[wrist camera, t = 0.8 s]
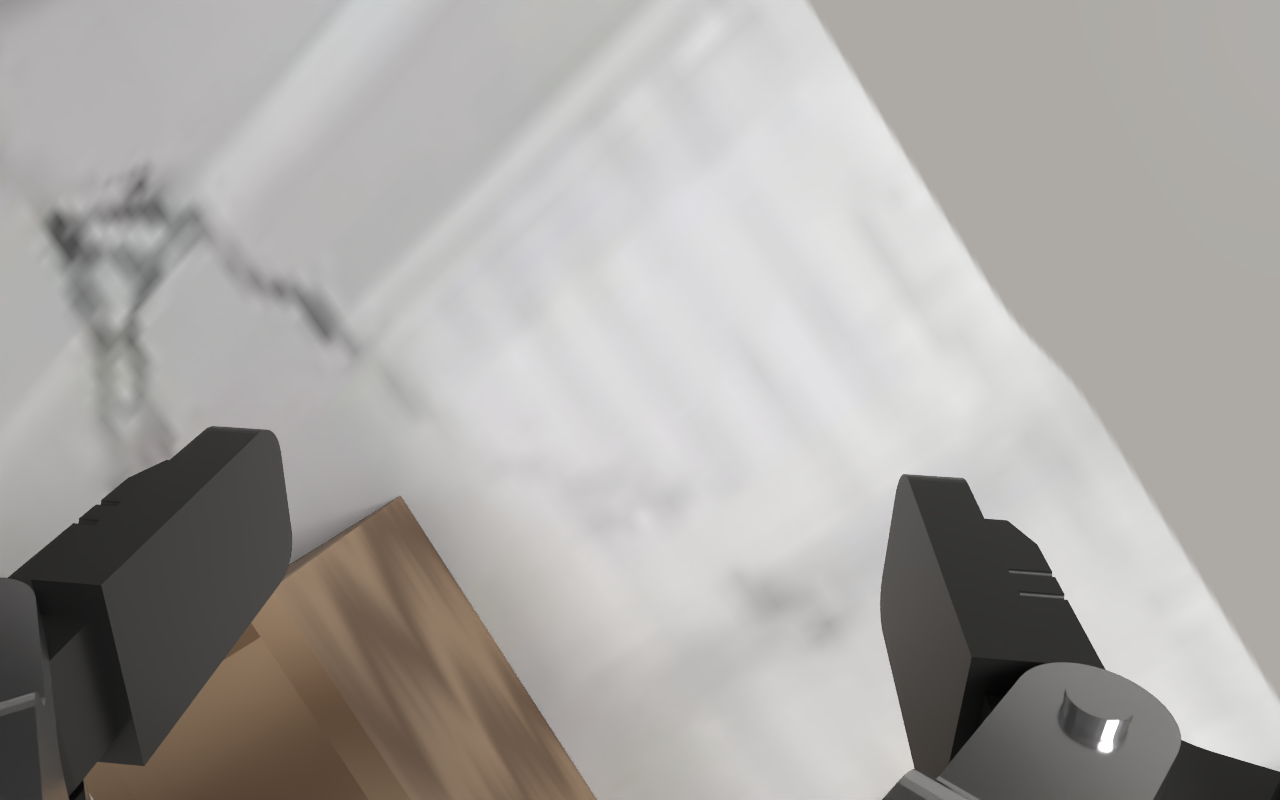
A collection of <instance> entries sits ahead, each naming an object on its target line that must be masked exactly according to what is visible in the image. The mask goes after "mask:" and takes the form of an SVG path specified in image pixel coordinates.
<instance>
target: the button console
mask: <svg viewBox="0 0 1280 800" xmlns="http://www.w3.org/2000/svg"><path fill="white" fill-rule="evenodd" d="M85 780H86V784H87V787H88V791H89V793H90V795H91V796H92V798H93V799H94V800H597V799H596V798H595V796H594V795H593V793H592V792H591V790H590V789H589V787H588V785H587V784H586V782H585V781H584V779H583V778H582V776H581V775H580V773H579V772H578V770H577V768H576V767H575V765H574V764H573V762H572V761H571V759H570V758H569V756H568V754H567V753H566V751H565V750H564V748H563V747H562V745H561V744H560V742H559V741H558V739H557V737H556V736H555V734H554V733H553V731H552V730H551V728H550V727H549V725H548V723H547V722H546V720H545V719H544V717H543V716H542V714H541V713H540V711H539V710H538V708H537V706H536V705H535V703H534V702H533V700H532V699H531V697H530V696H529V694H528V692H527V691H526V689H525V688H524V686H523V685H522V683H521V682H520V680H519V679H518V677H517V675H516V674H515V672H514V671H513V669H512V668H511V666H510V665H509V663H508V661H507V660H506V658H505V657H504V655H503V654H502V652H501V651H500V649H499V648H498V646H497V644H496V643H495V641H494V640H493V638H492V637H491V635H490V634H489V632H488V630H487V629H486V627H485V626H484V624H483V623H482V621H481V620H480V618H479V617H478V615H477V613H476V612H475V610H474V609H473V607H472V606H471V604H470V603H469V601H468V599H467V598H466V596H465V595H464V593H463V592H462V590H461V589H460V587H459V586H458V584H457V582H456V581H455V579H454V578H453V576H452V575H451V573H450V572H449V570H448V568H447V567H446V565H445V564H444V562H443V561H442V559H441V558H440V556H439V555H438V553H437V551H436V550H435V548H434V547H433V545H432V544H431V542H430V541H429V539H428V537H427V536H426V534H425V533H424V531H423V530H422V528H421V527H420V525H419V524H418V522H417V520H416V519H415V517H414V516H413V514H412V513H411V511H410V510H409V508H408V507H407V505H406V503H405V502H404V500H403V499H402V497H401V496H399V497H398V498H396V499H395V500H393V501H391V502H390V503H388V504H387V505H385V506H383V507H382V508H380V509H379V510H377V511H375V512H374V513H372V514H370V515H369V516H367V517H366V518H364V519H362V520H361V521H359V522H358V523H356V524H354V525H353V526H351V527H350V528H348V529H346V530H345V531H343V532H342V533H340V534H338V535H337V536H335V537H333V538H332V539H330V540H329V541H327V542H325V543H324V544H322V545H321V546H319V547H317V548H316V549H314V550H313V551H311V552H309V553H308V554H306V555H305V556H303V557H301V558H300V559H298V560H296V561H295V562H293V563H292V564H290V565H288V569H287V571H286V574H285V576H284V578H283V580H282V582H281V583H280V584H279V586H278V587H277V589H276V590H275V591H274V593H273V594H272V595H271V597H270V598H269V599H268V601H267V602H266V603H265V605H264V606H263V607H262V609H261V610H260V611H259V613H258V614H257V615H256V617H255V618H254V619H253V621H252V622H251V623H250V625H249V626H248V628H247V629H246V630H245V632H244V633H243V634H242V636H241V637H240V638H239V640H238V641H237V642H236V644H235V645H234V646H233V648H232V649H231V650H230V652H229V653H228V654H227V656H226V657H225V658H224V660H223V661H222V662H221V664H220V665H219V667H218V668H217V669H216V671H215V672H214V673H213V675H212V676H211V677H210V679H209V680H208V681H207V683H206V684H205V685H204V687H203V688H202V689H201V691H200V692H199V693H198V695H197V696H196V697H195V699H194V700H193V701H192V703H191V704H190V705H189V707H188V708H187V710H186V711H185V712H184V714H183V715H182V716H181V718H180V719H179V720H178V722H177V723H176V724H175V726H174V727H173V728H172V730H171V731H170V732H169V734H168V735H167V736H166V738H165V739H164V740H163V742H162V743H161V744H160V746H159V747H158V749H157V750H156V751H155V753H154V754H153V755H152V757H151V758H150V759H149V761H148V762H147V763H146V765H145V766H136V765H126V764H115V763H104V762H97V763H96V764H95V766H94V767H93V768H92V769H91V770H90V772H89V773H88V774H87V775H86V777H85Z"/></svg>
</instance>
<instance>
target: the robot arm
mask: <svg viewBox="0 0 1280 800" xmlns="http://www.w3.org/2000/svg"><path fill="white" fill-rule="evenodd" d="M291 551H292V531H291V523H290V516H289V509H288V501H287V494H286V487H285V479H284V472H283V465H282V457H281V451H280V446H279V442H278V440H277V438H276V436H275V434H274V433H273V432H271V431H269V430H262V429H247V428H232V427H217V426H212V427H209V428H207V429H206V430H204V431H203V432H202V433H201V434H200V435H198V436H197V437H196V438H195V439H194V440H193V441H191V442H190V443H189V444H188V445H187V446H186V447H184V448H183V449H182V450H181V451H180V452H179V453H177V454H176V455H175V456H174V457H173V458H172V459H170V460H166V461H163V462H161V463H159V464H157V465H155V466H153V467H151V468H148V469H146V470H144V471H142V472H140V473H138V474H136V475H134V476H131V477H129V478H128V479H126V480H125V481H124V482H123V483H121V484H120V485H119V486H118V487H117V488H115V489H114V490H113V491H112V492H111V493H109V494H108V495H107V496H106V497H105V498H103V499H102V500H101V505H95V506H94V507H93V508H91V509H90V510H89V511H88V512H87V513H85V514H84V515H83V516H82V517H80V518H79V523H78V524H75V523H73V524H72V525H71V526H70V527H68V528H67V529H66V530H65V531H64V532H62V533H61V534H60V535H59V536H58V537H56V538H55V539H54V540H53V541H52V542H50V543H49V544H48V545H47V546H46V547H44V548H43V549H42V550H41V551H39V552H38V553H37V554H36V555H35V556H33V557H32V558H31V559H30V560H29V561H27V562H26V563H25V564H24V565H23V566H21V567H20V568H19V569H18V570H17V571H15V572H14V573H13V574H12V575H11V576H9V577H8V578H0V800H91V798H90V795H89V791H88V787H87V784H86V780H85V777H86V775H87V774H88V773H89V772H90V770H91V769H92V768H93V767H94V766H95V764H96V763H97V762H104V763H115V764H126V765H136V766H145V765H146V763H147V762H148V761H149V759H150V758H151V757H152V755H153V754H154V753H155V751H156V750H157V749H158V747H159V746H160V744H161V743H162V742H163V740H164V739H165V738H166V736H167V735H168V734H169V732H170V731H171V730H172V728H173V727H174V726H175V724H176V723H177V722H178V720H179V719H180V718H181V716H182V715H183V714H184V712H185V711H186V710H187V708H188V707H189V705H190V704H191V703H192V701H193V700H194V699H195V697H196V696H197V695H198V693H199V692H200V691H201V689H202V688H203V687H204V685H205V684H206V683H207V681H208V680H209V679H210V677H211V676H212V675H213V673H214V672H215V671H216V669H217V668H218V667H219V665H220V664H221V662H222V661H223V660H224V658H225V657H226V656H227V654H228V653H229V652H230V650H231V649H232V648H233V646H234V645H235V644H236V642H237V641H238V640H239V638H240V637H241V636H242V634H243V633H244V632H245V630H246V629H247V628H248V626H249V625H250V623H251V622H252V621H253V619H254V618H255V617H256V615H257V614H258V613H259V611H260V610H261V609H262V607H263V606H264V605H265V603H266V602H267V601H268V599H269V598H270V597H271V595H272V594H273V593H274V591H275V590H276V589H277V587H278V586H279V584H280V583H281V582H282V580H283V578H284V576H285V574H286V571H287V569H288V565H289V562H290V557H291ZM880 611H881V624H882V631H883V635H884V640H885V644H886V648H887V652H888V657H889V661H890V665H891V669H892V674H893V678H894V682H895V686H896V691H897V695H898V699H899V704H900V708H901V712H902V716H903V721H904V725H905V729H906V733H907V738H908V742H909V746H910V750H911V755H912V759H913V763H914V768H915V769H913V770H911V771H909V772H908V773H907V774H905V775H904V776H903V777H902V778H901V779H900V780H899V781H898V782H897V783H896V785H895V786H894V787H893V788H892V789H891V790H890V791H889V793H888V794H887V795H886V796H885V797H884V798H883V800H1280V772H1278V771H1275V770H1272V769H1268V768H1265V767H1261V766H1258V765H1255V764H1251V763H1248V762H1245V761H1241V760H1238V759H1235V758H1231V757H1228V756H1224V755H1221V754H1218V753H1214V752H1211V751H1208V750H1205V749H1202V748H1199V747H1196V746H1194V745H1192V744H1189V743H1187V742H1185V741H1182V740H1181V734H1180V731H1179V727H1178V725H1177V723H1176V721H1175V719H1174V717H1173V716H1172V715H1171V713H1170V712H1169V711H1168V710H1167V708H1166V707H1165V706H1164V705H1163V704H1162V703H1161V702H1160V701H1159V700H1158V699H1157V698H1156V697H1154V696H1153V695H1152V694H1150V693H1149V692H1148V691H1146V690H1145V689H1143V688H1142V687H1140V686H1139V685H1137V684H1135V683H1134V682H1132V681H1130V680H1128V679H1126V678H1124V677H1122V676H1120V675H1117V674H1115V673H1112V672H1110V671H1107V670H1105V668H1104V666H1103V665H1102V663H1101V661H1100V659H1099V657H1098V655H1097V654H1096V652H1095V650H1094V648H1093V646H1092V644H1091V643H1090V641H1089V639H1088V637H1087V635H1086V633H1085V632H1084V630H1083V628H1082V626H1081V624H1080V622H1079V620H1078V619H1077V617H1076V615H1075V613H1074V611H1073V609H1072V608H1071V606H1070V604H1069V602H1068V600H1064V593H1063V591H1062V589H1061V587H1060V586H1059V584H1058V582H1057V580H1056V578H1055V577H1052V571H1051V569H1050V567H1049V565H1048V563H1047V562H1046V560H1045V558H1044V556H1043V554H1042V552H1041V551H1040V549H1039V547H1038V545H1037V544H1036V543H1034V542H1033V541H1032V540H1031V539H1029V538H1028V537H1027V536H1026V535H1025V534H1023V533H1022V532H1021V531H1020V530H1018V529H1017V528H1016V527H1015V526H1013V525H1012V524H1011V523H1010V522H1008V521H1007V520H993V519H984V517H983V515H982V513H981V511H980V509H979V506H978V504H977V502H976V500H975V498H974V496H973V494H972V492H971V490H970V487H969V485H968V483H967V482H966V480H965V479H963V478H952V477H937V476H922V475H907V474H903V475H902V476H901V478H900V480H899V483H898V486H897V490H896V496H895V502H894V508H893V514H892V520H891V527H890V533H889V539H888V545H887V552H886V558H885V564H884V570H883V576H882V584H881V599H880Z"/></svg>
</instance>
